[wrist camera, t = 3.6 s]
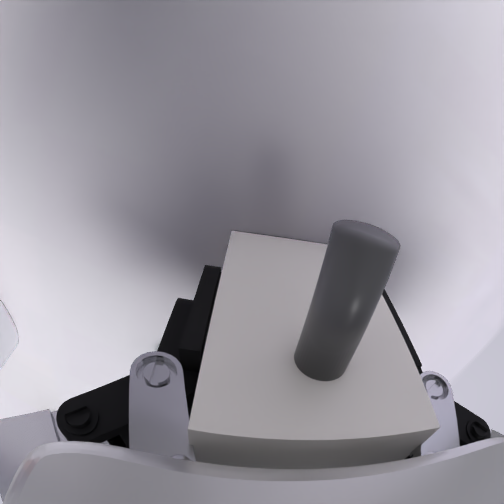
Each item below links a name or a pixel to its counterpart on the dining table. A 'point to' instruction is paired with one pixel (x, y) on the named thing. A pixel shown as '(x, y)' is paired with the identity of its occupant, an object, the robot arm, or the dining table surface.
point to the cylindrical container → (6, 335)
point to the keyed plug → (307, 357)
